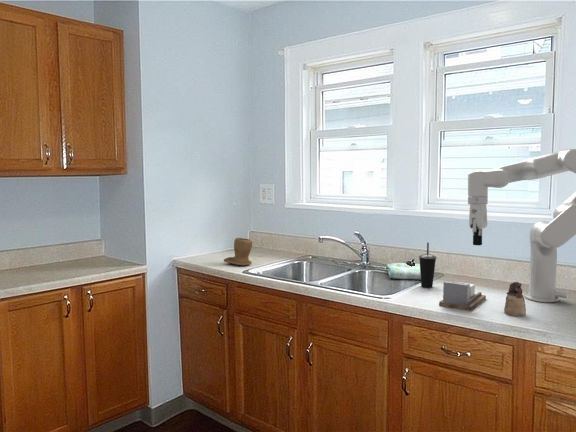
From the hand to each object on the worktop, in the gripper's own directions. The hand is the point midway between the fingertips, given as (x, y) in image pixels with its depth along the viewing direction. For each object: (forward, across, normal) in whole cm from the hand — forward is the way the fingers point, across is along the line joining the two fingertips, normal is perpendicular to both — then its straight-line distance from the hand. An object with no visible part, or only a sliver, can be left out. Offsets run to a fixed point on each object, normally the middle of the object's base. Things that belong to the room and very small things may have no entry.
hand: (477, 244), depth 199 cm
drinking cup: (+21, +4, +23) cm, 31 cm away
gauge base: (+21, -13, +2) cm, 25 cm away
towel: (+22, +20, +39) cm, 49 cm away
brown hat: (+19, -7, +126) cm, 127 cm away
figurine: (+22, -17, -18) cm, 33 cm away
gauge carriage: (+20, -13, +3) cm, 24 cm away
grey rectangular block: (+20, -21, +2) cm, 29 cm away
